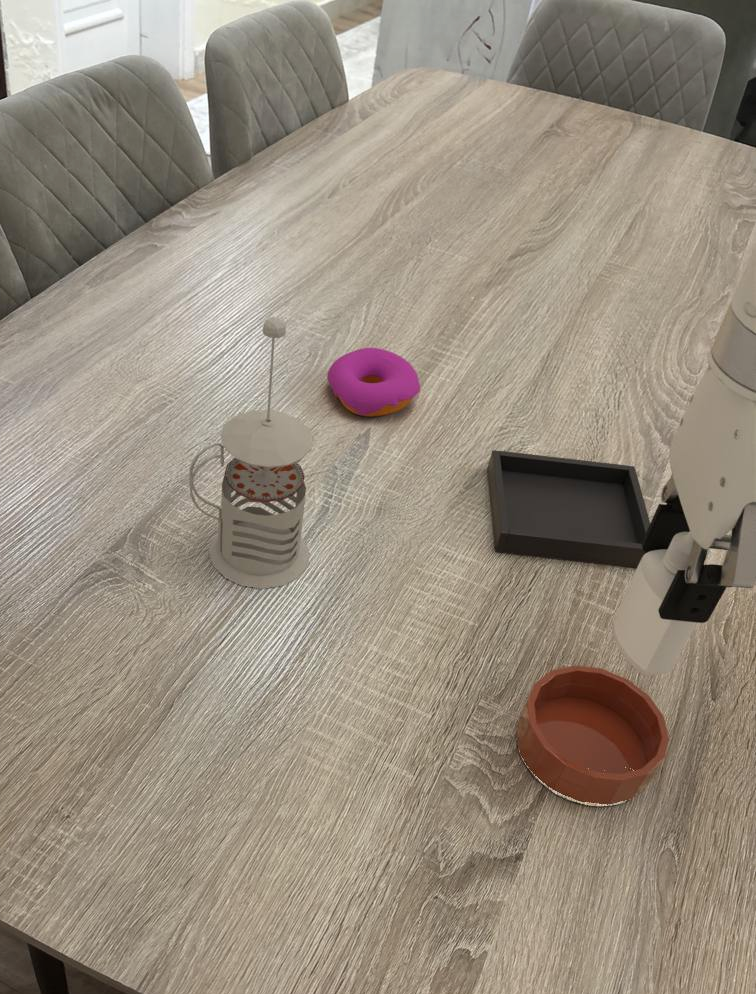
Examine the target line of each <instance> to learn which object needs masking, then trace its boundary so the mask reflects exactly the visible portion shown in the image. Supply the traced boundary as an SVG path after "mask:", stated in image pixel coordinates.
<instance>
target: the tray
mask: <svg viewBox="0 0 756 994" xmlns="http://www.w3.org/2000/svg"><path fill="white" fill-rule="evenodd" d="M486 471H487V473H486V474H487V481H488V482H487V483H488V492H489V501H490V511H491V512H490V513H491V522H492V533H493V544H494V552H495V553H503V554H511V555H521V556H528V557H529V556H530V557H538V558H547V559H548V558H549V559H554V560H555V559H557V560H564V561H565V560H566V561H573V562H582V563H589V564H590V563H591V564H598V565H607V566H617V567H625V568H633V569H637V567H638V565H639V563H640V561H641V559H642V557H643V556H644V555H645V554H646V553H647V552H645V551H643V548H642V541H643V539H644V537H645V534H646V532H647V530H648V528H649V525H650V523H651V521H650V520H651V519H650V516H649V514H648V513H649V512H648V510H647V507H646V503H645V499H644V495H643V492H642V487H641V484H640V481H639V478H638V477H639V476H638V473H637V471H636V467H635V466H634V465H627V464H617V463H609V462H601V461H591V460H583V459H574V458H566V457H557V456H547V455H540V454H531V453H523V452H515V451H513V452H512V451H505V450H496V449H493V450H492V451H491V453H490V457H489V461H488V465H487V467H486Z"/></svg>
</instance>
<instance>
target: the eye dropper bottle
mask: <svg viewBox="0 0 756 994" xmlns="http://www.w3.org/2000/svg"><path fill="white" fill-rule="evenodd" d="M693 542H694V538H693V536H692V534H691V532H680V533H677V534H676V535H675V536H674V537H673V539H672V541H671V543H670V545H669V548H668V550H667V549H660V550H654V551H650V552H648V553H646V554H645V555H644V556H643V557H642V559H641V561H640V563H639V565H638V567H637V568H635V571H634V574H633V575H632V577H631V580H630V582H629V585H628V587H627V589H626V591H625V593H624V595H623V597H622V600H621V602H620V604H619V606H618V609H617V610H616V612H615V615H614V617H613V620H612V623H611V631H612V635H613V640H614V643H615V645H616V647H617V649H618V651H619V653H620V654H621V655H622V657H623V658H624V659H625V660H626V662H627V663H628V664H629V665H631V667H633V669H635V671H637V673H640V675H643V676H645V677H653V676H659V675H660V676H661V675H665V674H668V673H670V672H671V671H672V670H673V668H674V666H675V664H676V663H677V661H678V659H679V657H680V656H681V654H682V652H683V650H684V649H685V647H686V645H687V644H688V643H687V642H688V641H689V639H690V637H691V635H692V634H693V631H694V630H695V627H696V626H697V624H698V623H696V622H686V621H677V620H667V619H662V618H660V615H659V611H658V610H659V607H660V605H661V603H662V601H663V599H664V597H665V595H666V593H667V591H668V589H669V587H670V585H671V583H672V581H673V579H674V577H675V575H676V573H677V571H678V570H685V569H686V565H687V562H688V559H689V555H690V552H691V548H692V545H693ZM710 552H711V548H709V549H708V552H707V555H706V559H705V561H706V560H707V558H708V556H709V554H710Z"/></svg>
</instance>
